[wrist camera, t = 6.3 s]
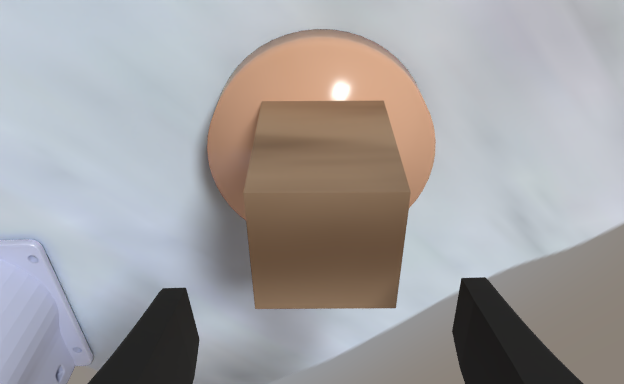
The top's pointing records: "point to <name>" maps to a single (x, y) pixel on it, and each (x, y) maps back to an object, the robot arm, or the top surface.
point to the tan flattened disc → (317, 87)
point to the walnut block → (325, 206)
